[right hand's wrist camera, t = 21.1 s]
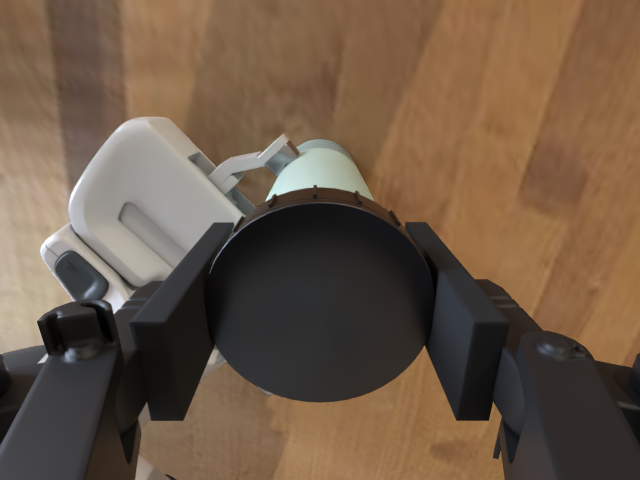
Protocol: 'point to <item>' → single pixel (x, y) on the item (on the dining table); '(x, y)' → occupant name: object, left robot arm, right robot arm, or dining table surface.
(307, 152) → the jar
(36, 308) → the dining table surface
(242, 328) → the lid
